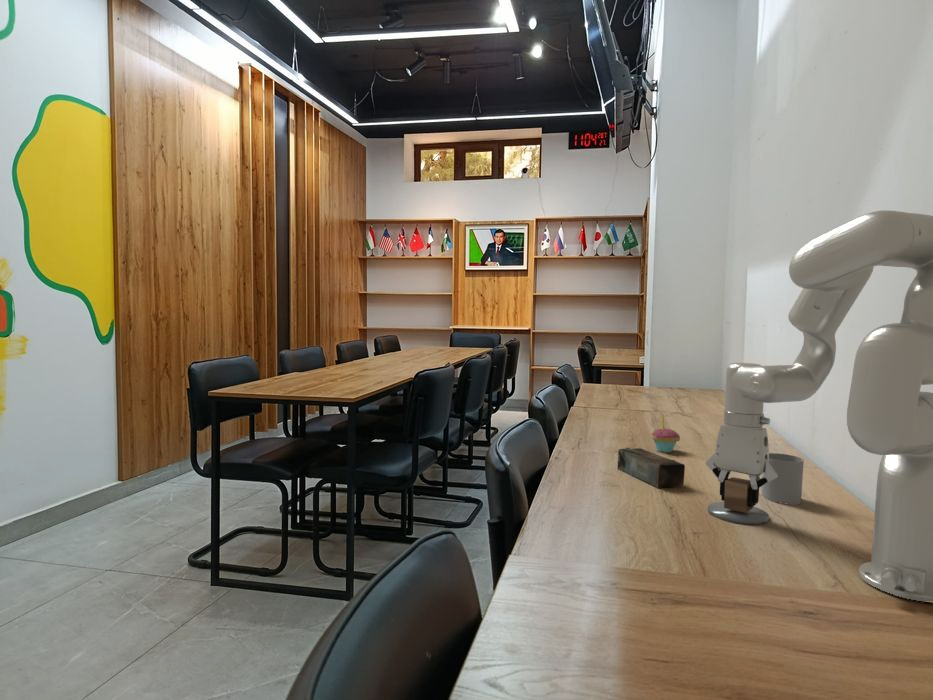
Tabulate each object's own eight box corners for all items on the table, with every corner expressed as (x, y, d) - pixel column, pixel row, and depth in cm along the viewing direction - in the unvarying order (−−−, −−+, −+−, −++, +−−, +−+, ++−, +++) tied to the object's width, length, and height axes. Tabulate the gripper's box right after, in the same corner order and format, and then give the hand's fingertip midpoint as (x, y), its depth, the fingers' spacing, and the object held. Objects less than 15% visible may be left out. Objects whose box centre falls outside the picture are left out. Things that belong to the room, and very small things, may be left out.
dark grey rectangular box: (640, 468, 161) (641, 445, 160) (685, 488, 142) (687, 462, 142) (616, 469, 158) (617, 446, 158) (658, 490, 140) (660, 464, 140)
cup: (806, 505, 130) (809, 463, 130) (768, 502, 132) (770, 460, 131) (793, 494, 139) (795, 454, 138) (756, 491, 140) (759, 452, 140)
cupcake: (645, 448, 184) (647, 412, 183) (665, 446, 187) (666, 410, 187) (664, 454, 176) (666, 416, 175) (685, 452, 180) (686, 415, 179)
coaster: (757, 529, 115) (757, 525, 115) (698, 513, 123) (699, 510, 123) (776, 515, 123) (776, 511, 123) (720, 501, 132) (720, 498, 132)
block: (745, 512, 120) (746, 485, 119) (724, 507, 123) (724, 480, 123) (753, 508, 123) (754, 481, 123) (731, 503, 126) (732, 476, 126)
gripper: (791, 424, 118) (786, 508, 120) (710, 412, 130) (706, 490, 132) (780, 428, 113) (775, 517, 114) (696, 416, 125) (692, 496, 126)
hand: (738, 501), depth 123 cm, fingers open, 4 cm apart
